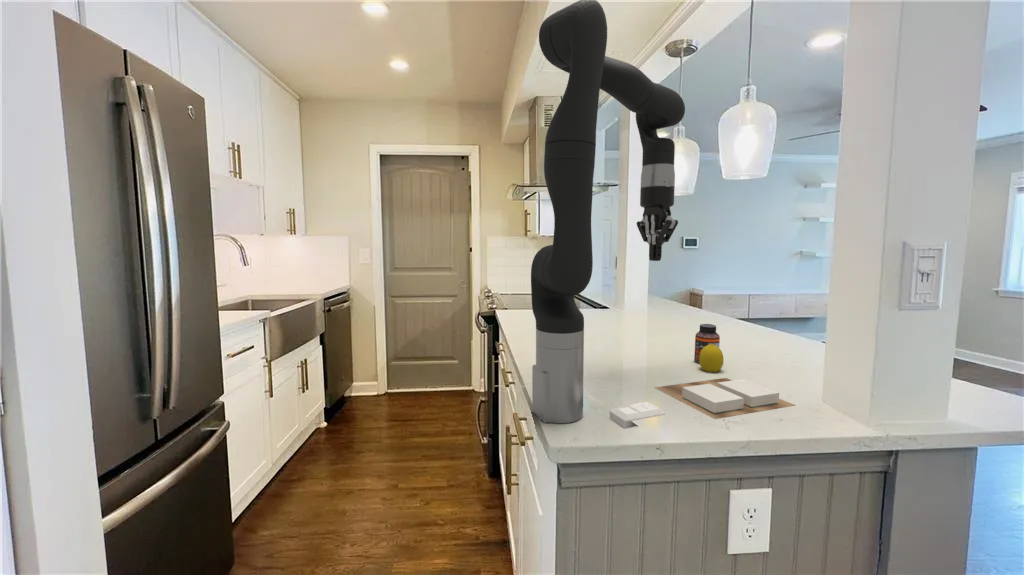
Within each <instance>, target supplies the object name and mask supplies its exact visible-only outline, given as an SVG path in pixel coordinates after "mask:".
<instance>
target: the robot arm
mask: <svg viewBox="0 0 1024 575" xmlns="http://www.w3.org/2000/svg"><path fill="white" fill-rule="evenodd" d="M538 42H539V47H540V50H541V52H542V55H543V56H544V57H545V59H546V60H547V61H548V62H549V63H550V64H551V65H552V66H554V67H555V68H557V69H560V70H562V71H563V72H566V73H568V74H569V76H568V80H567V84H566V87H565V91H564V93H563V95H562V97H561V100H560V102H559V103H558V106H557V108H556V109H555V112H554V114H553V116H552V118H551V120H550V123H549V125H548V128H547V131H546V134H545V142H544V153H543V154H544V157H543V159H544V160H543V174H544V175H543V176H544V180H545V185H546V188H547V192H548V195H549V199H550V201H551V206H552V211H553V218H554V225H553V226H554V228H553V237H552V238H553V239H552V240H553V241H552V244H549V245H546V246H543V247H542V248H540V249H539V250H538V251H537V252H536V253H535V255H534V256H533V259H532V263H531V266H530V267H531V269H530V288H531V289H530V290H531V293H530V294H531V308H532V313H533V316H534V319H535V320H534V321H535V364H533V365H532V366H531V367H532V368H531V369H532V376H531V377H532V382H531V383H532V386H531V389H532V393H531V394H532V397H531V398H532V400H531V401H532V404H531V405H532V412H533V413H534V415H536V416H537V418H538V419H539V420H540V421H542V423H555V424H569V423H572V422H573V423H574V422H576V421H578V420H580V419H582V418H583V417H584V416H583V415H584V354H585V353H584V352H585V350H584V349H585V348H584V347H585V346H584V344H585V318H584V314H583V313H582V311H581V310H580V309H579V307H578V305H577V304H576V301H575V296H577V295H580V294H581V293H582V292H584V291H585V290H586V288H587V287H588V285H589V284H590V281H591V278H592V276H593V275H592V274H593V263H594V262H593V261H594V260H593V259H594V258H593V257H594V256H593V238H592V237H593V236H592V211H593V210H592V208H593V192H594V191H593V188H594V187H593V186H594V176H595V175H594V174H595V173H594V172H595V165H596V164H595V163H596V146H597V122H598V110H599V99H600V91H603V92H605V94H606V93H607V94H608V95H609V96H610V97H612V98H613V99H615V100H616V101H617V102H619V103H620V104H621V105H622V106H623V107H625V108H626V109H627V110H628V111H630V112H632V113H634V114H635V122H636V123H635V124H636V126H637V130H638V134H639V138H640V142H641V147H642V160H641V161H642V164H641V166H642V167H641V173H640V174H641V175H640V190H639V192H640V193H639V194H640V195H639V196H640V197H639V205H640V207H641V208H643V213H642V219H641V220H640V221H639V220H638V221H637V222H636V227H637V230H638V232H639V233H640V236H641V238H642V241H643V242H644V243H645V242H646V243H647V244H648V247H649V249H648V251H649V252H648V257H649V261H652V262H660V261H661V260H662V253H663V252H662V251H663V250H662V248H663V247H662V246H663V245H664V243H668V242H669V241H670V239H671V238H672V236H673V233H674V231H675V230H676V228H677V226H678V224H679V221H678V219H673V217H672V211H671V207H673V206H674V205H675V184H676V182H675V181H676V173H675V171H676V170H675V152H676V150H675V147H676V146H675V142H674V140H673V139H671V138H668V137H659V136H658V132H657V130H660V129H665V128H670V127H674V126H676V125H678V124H679V123H680V122H681V121H682V119H684V117H685V113H686V104H685V102H684V100H683V98H682V96H681V95H680V94H679V93H678V92H677V91H675V90H674V89H672V88H669V87H667V86H664V85H663V84H660V83H656V82H654V81H653V80H651V79H650V78H649V77H648V76H647V75H646V74H645V73H644V72H643V71H642V70H641V69H639V68H638V67H636V66H635V65H633V64H631V63H629V62H626V61H623V60H621V59H617V58H613V57H609V56H606V52H607V44H608V22H607V17H606V13H605V11H604V7H602V5H601V3H600V2H599V1H597V0H578V1H575V2H573V3H571V4H570V5H567V6H565V7H564V8H561V9H559V10H557V11H556V12H554V13H552V14H551V15H549V16H547V17H546V18H545V19H544V20H543V21H542V23H541V25H540V27H539V31H538Z"/></svg>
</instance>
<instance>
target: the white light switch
mask: <svg viewBox="0 0 1024 575" xmlns="http://www.w3.org/2000/svg"><path fill="white" fill-rule="evenodd" d="M664 415H666V413H665V412H664V411H663V410H662V409H660V408H659V407H657V406H655V405H653V404H652V403H650V402H647V401H644V402H638V403H633V404H627V405H621V406H616V407H614V408H612V409H610V410H609V419H610V418H611V419H610V420H612V421H613V422H614V423H616V424H618V425H619V426H621V427H622V428H624V429H630V428H633V427H634V428H635V427H638V426H639V425H637V423H635V422H633V421H639V420H643V419H649V418H654V417H659V416H664Z"/></svg>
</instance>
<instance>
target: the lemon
mask: <svg viewBox="0 0 1024 575" xmlns="http://www.w3.org/2000/svg"><path fill="white" fill-rule="evenodd" d="M699 362H700V364H699V365H700V368H701V369H702V370H703V371H704V372H707V373H718V372H720V371H721V369H722V368H723V365H724V354H723V352H722V350H721V349H720V347H719V348H718V347H717V346H715V345H714V344H710V345H707V346H705V347H704V348H703V349H702V350H701V352H700V356H699Z"/></svg>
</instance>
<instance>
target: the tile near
mask: <svg viewBox="0 0 1024 575" xmlns="http://www.w3.org/2000/svg"><path fill="white" fill-rule="evenodd" d="M682 397H683V398H684V399H686V400H688V401H690V402H692V403H694V404H696V405H698V406H700V407H702V408H704V409H706V410H708V411H710V412H712V413H714V414H715V413H721V412H727V411H733V410H740V409H742V408H743V404H744V398H742V397H740V396H737V395H735V394H733V393H730V392H728V391H726V390H723V389H721V388H719V387H716V386H714V385H712V384H703V385H696V386H689V387H682Z"/></svg>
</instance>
